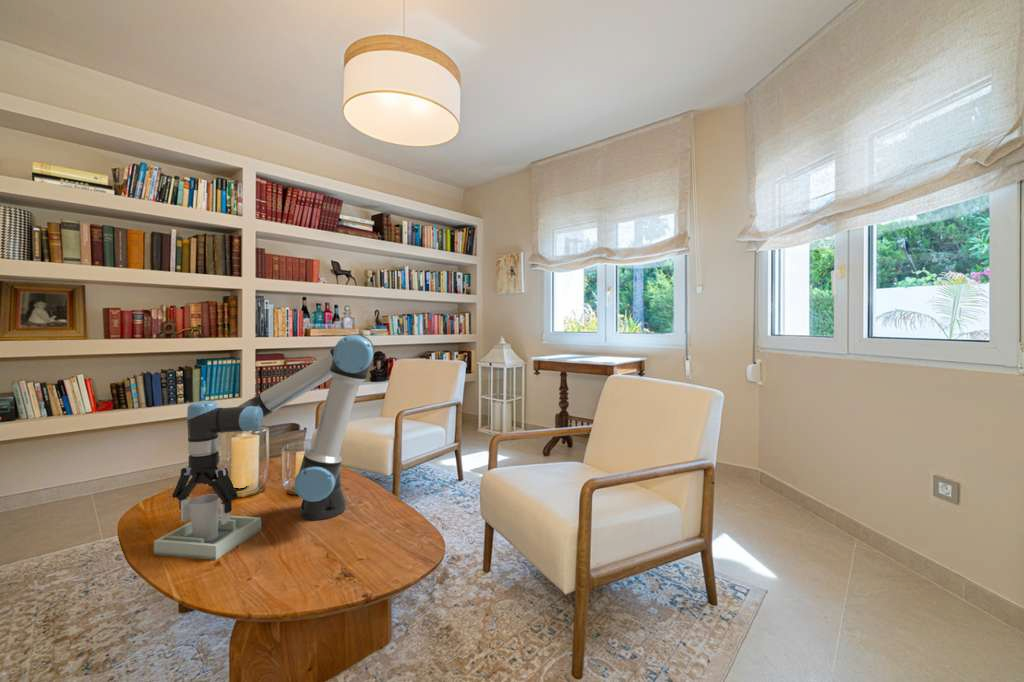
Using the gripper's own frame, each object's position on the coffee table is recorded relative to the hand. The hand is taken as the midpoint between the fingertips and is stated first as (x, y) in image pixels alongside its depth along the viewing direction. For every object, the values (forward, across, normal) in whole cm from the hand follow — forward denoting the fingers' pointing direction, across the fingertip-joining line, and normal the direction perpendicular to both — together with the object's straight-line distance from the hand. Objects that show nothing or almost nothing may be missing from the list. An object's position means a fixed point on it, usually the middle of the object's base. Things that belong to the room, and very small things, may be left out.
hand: (205, 521), depth 133 cm
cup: (+5, 0, 0) cm, 5 cm away
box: (+6, -2, 0) cm, 6 cm away
